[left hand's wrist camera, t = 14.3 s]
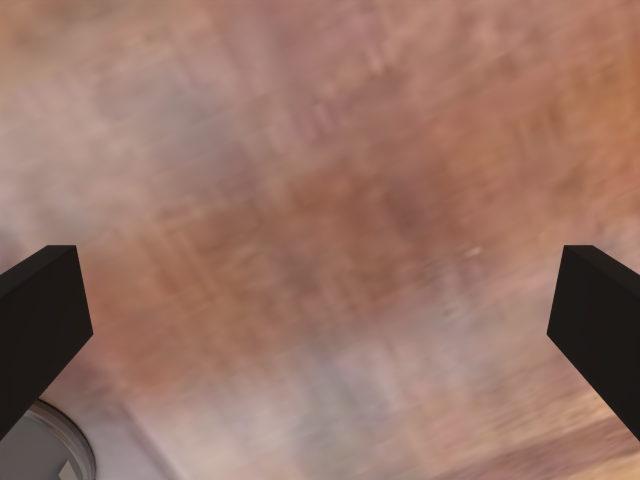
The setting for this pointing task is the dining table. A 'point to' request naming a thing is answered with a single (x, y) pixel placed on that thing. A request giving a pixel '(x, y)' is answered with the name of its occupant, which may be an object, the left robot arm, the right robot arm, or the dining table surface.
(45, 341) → the left robot arm
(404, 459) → the dining table surface
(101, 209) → the dining table surface
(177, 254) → the dining table surface
